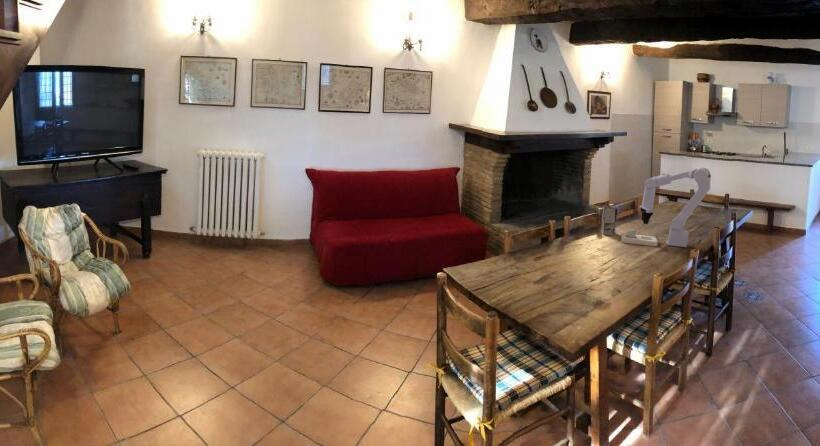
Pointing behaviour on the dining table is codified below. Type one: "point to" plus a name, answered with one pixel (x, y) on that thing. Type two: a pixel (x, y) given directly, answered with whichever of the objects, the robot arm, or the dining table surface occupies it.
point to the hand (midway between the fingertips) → (644, 222)
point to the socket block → (639, 240)
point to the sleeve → (631, 233)
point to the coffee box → (608, 220)
